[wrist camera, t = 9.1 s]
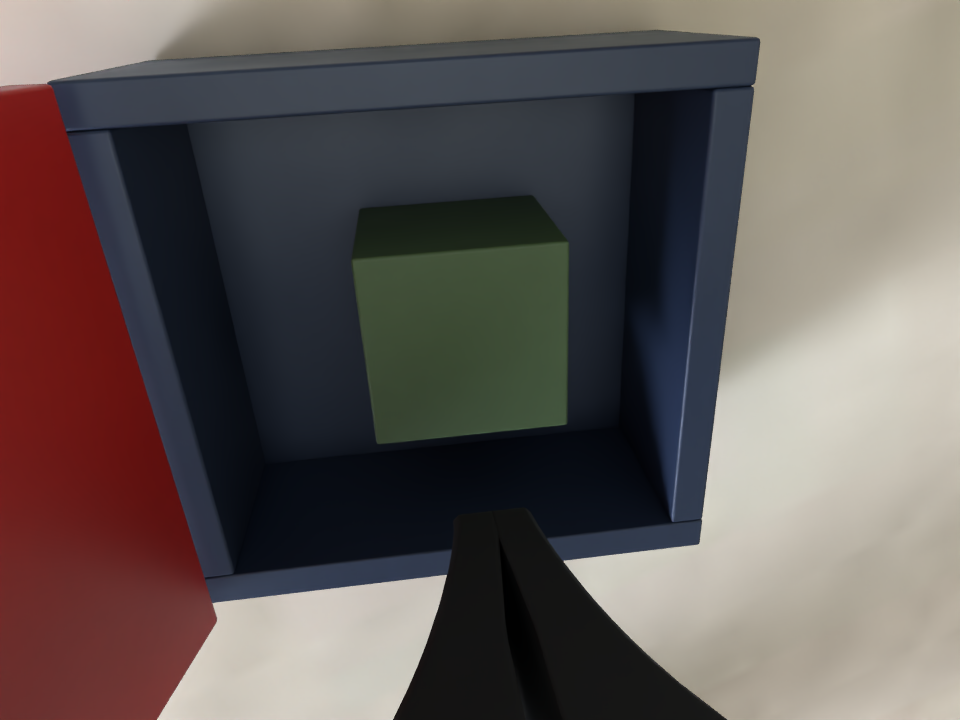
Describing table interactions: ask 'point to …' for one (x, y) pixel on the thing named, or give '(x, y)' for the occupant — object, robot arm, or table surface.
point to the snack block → (462, 317)
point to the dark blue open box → (332, 301)
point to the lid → (79, 460)
